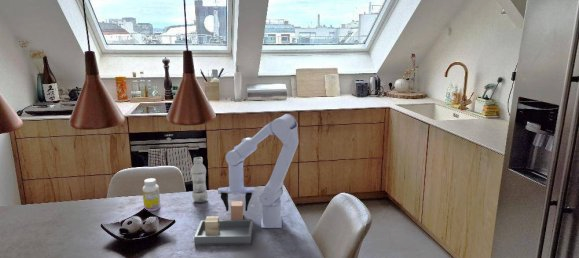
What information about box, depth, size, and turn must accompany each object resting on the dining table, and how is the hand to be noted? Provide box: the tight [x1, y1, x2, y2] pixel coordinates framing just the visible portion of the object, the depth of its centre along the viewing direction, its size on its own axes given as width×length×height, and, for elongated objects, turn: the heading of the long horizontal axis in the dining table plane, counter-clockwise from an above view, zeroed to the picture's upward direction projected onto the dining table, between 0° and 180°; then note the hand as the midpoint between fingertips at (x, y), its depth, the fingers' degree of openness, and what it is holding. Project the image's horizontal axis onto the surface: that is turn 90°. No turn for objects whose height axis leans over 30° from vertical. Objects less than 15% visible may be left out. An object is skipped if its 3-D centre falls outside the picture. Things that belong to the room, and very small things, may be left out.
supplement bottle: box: [142, 177, 161, 212], centre depth 171 cm, size 7×7×13 cm
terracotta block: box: [230, 200, 244, 220], centre depth 164 cm, size 4×4×6 cm
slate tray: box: [193, 219, 254, 247], centre depth 149 cm, size 13×20×4 cm, turn 92°
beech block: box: [204, 215, 220, 236], centre depth 148 cm, size 4×4×6 cm
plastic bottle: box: [190, 156, 209, 203], centre depth 178 cm, size 6×7×20 cm
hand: (236, 210), depth 164 cm, fingers open, 7 cm apart
